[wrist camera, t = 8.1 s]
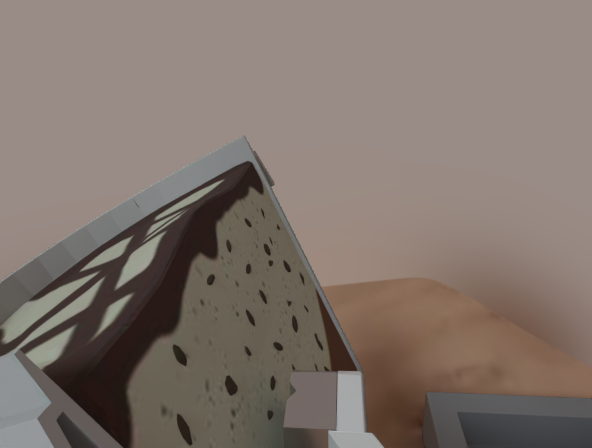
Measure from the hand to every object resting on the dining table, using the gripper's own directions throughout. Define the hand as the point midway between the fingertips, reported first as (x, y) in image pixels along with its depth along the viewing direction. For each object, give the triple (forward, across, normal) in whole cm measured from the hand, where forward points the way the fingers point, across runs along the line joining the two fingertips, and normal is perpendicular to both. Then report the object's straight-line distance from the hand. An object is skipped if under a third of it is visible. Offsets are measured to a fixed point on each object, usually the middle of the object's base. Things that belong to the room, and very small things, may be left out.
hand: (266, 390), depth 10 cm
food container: (+2, 0, +6) cm, 6 cm away
